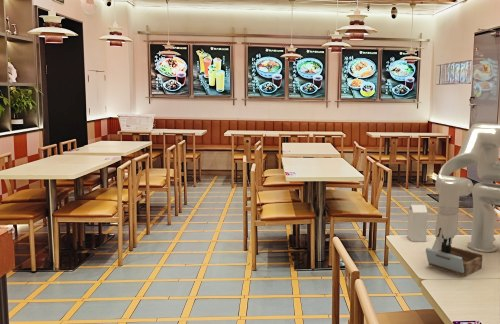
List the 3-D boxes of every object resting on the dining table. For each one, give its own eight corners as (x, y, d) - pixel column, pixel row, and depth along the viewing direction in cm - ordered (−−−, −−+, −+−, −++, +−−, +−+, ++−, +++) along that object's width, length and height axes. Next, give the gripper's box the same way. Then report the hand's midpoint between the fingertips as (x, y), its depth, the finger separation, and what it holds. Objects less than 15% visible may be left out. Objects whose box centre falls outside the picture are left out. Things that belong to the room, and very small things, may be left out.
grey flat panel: (429, 260, 200) (427, 247, 198) (464, 271, 189) (462, 257, 186) (427, 263, 200) (424, 249, 197) (462, 273, 188) (460, 259, 185)
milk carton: (425, 241, 233) (428, 204, 230) (411, 241, 233) (413, 204, 230) (421, 237, 240) (422, 201, 237) (407, 237, 240) (408, 201, 237)
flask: (448, 255, 214) (450, 234, 212) (431, 254, 215) (433, 233, 213) (445, 250, 221) (446, 229, 219) (429, 249, 222) (430, 228, 220)
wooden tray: (445, 258, 210) (446, 245, 209) (481, 268, 198) (482, 254, 197) (428, 265, 201) (429, 251, 200) (465, 276, 189) (466, 262, 188)
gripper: (448, 205, 198) (446, 247, 201) (429, 211, 188) (427, 255, 191) (466, 208, 192) (463, 251, 195) (447, 215, 183) (445, 260, 185)
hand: (445, 253), depth 193 cm, fingers closed
